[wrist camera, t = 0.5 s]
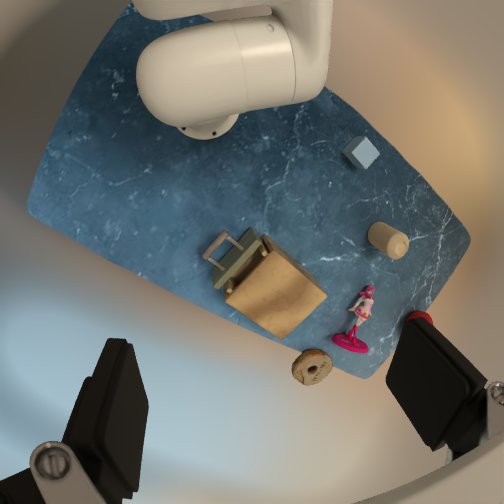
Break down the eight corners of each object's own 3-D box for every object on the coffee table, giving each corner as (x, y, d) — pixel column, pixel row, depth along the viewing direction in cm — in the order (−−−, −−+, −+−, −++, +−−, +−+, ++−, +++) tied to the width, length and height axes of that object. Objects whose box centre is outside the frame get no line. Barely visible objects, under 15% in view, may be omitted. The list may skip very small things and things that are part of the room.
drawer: (193, 255, 57) (191, 270, 50) (232, 210, 55) (235, 220, 48) (261, 305, 63) (267, 325, 57) (299, 267, 61) (309, 283, 55)
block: (355, 136, 54) (366, 136, 50) (369, 152, 55) (380, 153, 51) (341, 151, 55) (351, 152, 50) (355, 167, 56) (366, 169, 52)
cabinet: (222, 278, 61) (224, 301, 52) (264, 233, 59) (274, 249, 50) (273, 315, 66) (281, 340, 57) (313, 275, 63) (327, 296, 55)
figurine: (331, 345, 63) (354, 282, 61) (331, 332, 72) (351, 277, 70) (370, 357, 61) (395, 295, 59) (365, 343, 70) (386, 288, 68)
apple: (436, 311, 64) (433, 313, 73) (406, 309, 69) (406, 311, 77) (432, 342, 63) (429, 341, 71) (402, 340, 67) (402, 339, 76)
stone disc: (335, 354, 73) (307, 341, 71) (340, 362, 70) (311, 349, 67) (311, 381, 75) (282, 370, 73) (315, 390, 72) (285, 379, 69)
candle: (371, 218, 61) (396, 232, 51) (390, 224, 62) (416, 238, 52) (363, 242, 62) (387, 259, 53) (382, 247, 63) (406, 264, 54)
